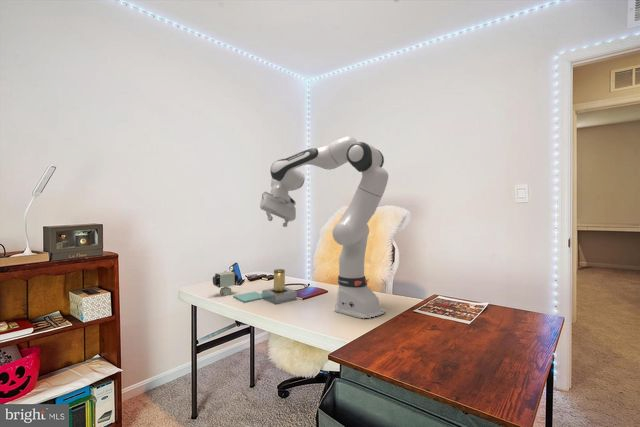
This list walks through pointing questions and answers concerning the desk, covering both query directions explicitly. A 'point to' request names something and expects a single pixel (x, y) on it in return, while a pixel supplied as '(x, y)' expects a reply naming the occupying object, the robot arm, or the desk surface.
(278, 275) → the brass cylinder
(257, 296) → the pad
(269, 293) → the housing
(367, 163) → the robot arm
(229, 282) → the pneumatic valve
